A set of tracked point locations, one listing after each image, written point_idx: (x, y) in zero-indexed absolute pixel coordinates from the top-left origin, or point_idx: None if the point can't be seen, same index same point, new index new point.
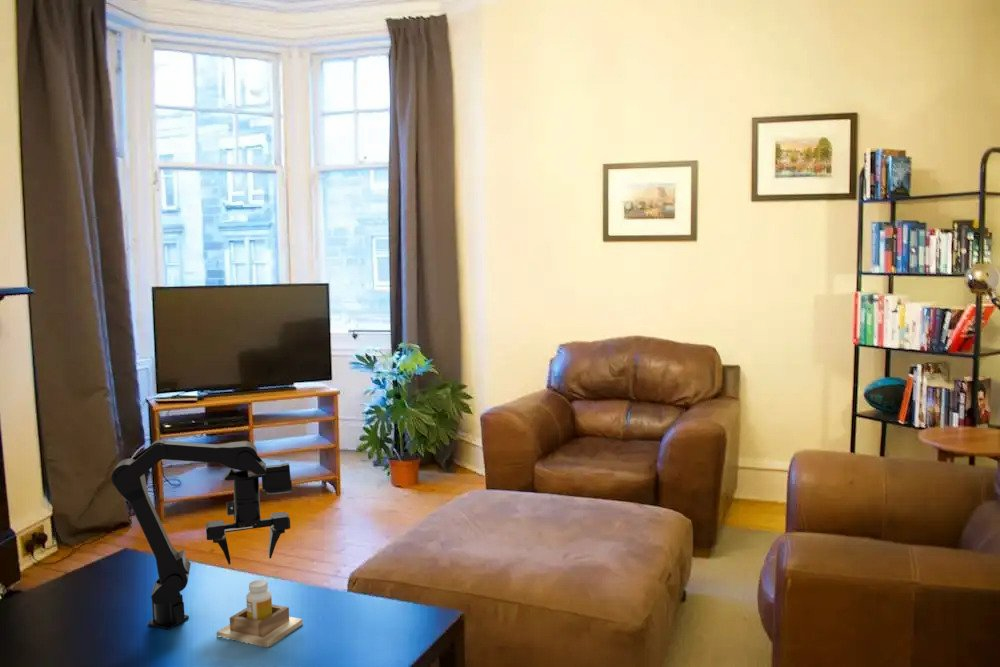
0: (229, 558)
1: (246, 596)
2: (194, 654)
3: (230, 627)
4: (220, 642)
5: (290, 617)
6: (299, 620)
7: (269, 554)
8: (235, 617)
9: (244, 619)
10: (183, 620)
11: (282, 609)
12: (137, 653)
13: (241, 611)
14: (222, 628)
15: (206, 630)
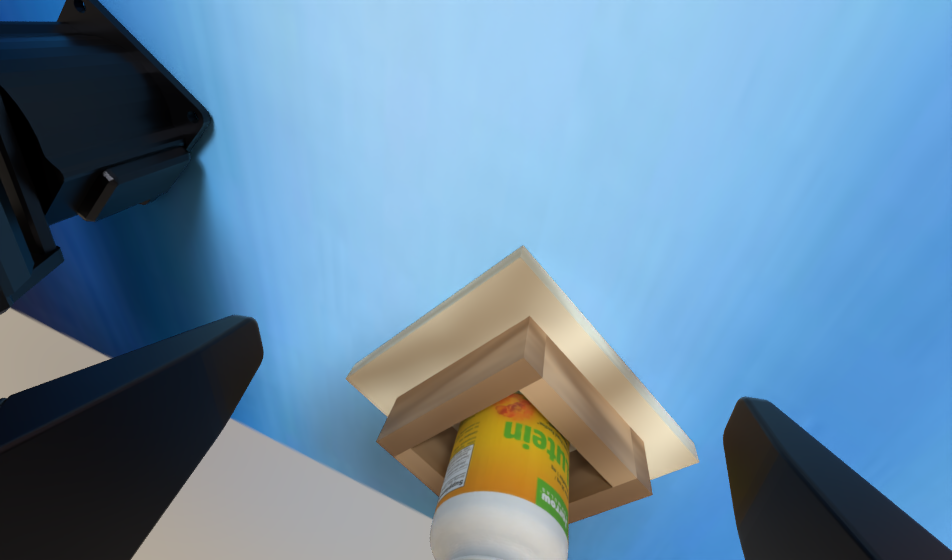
0: (207, 444)
1: (430, 532)
2: (291, 430)
3: (393, 409)
4: (368, 404)
5: (658, 425)
6: (681, 465)
7: (733, 507)
8: (400, 452)
9: (435, 485)
10: (191, 148)
11: (615, 497)
12: (108, 333)
13: (430, 417)
14: (367, 365)
15: (311, 289)
